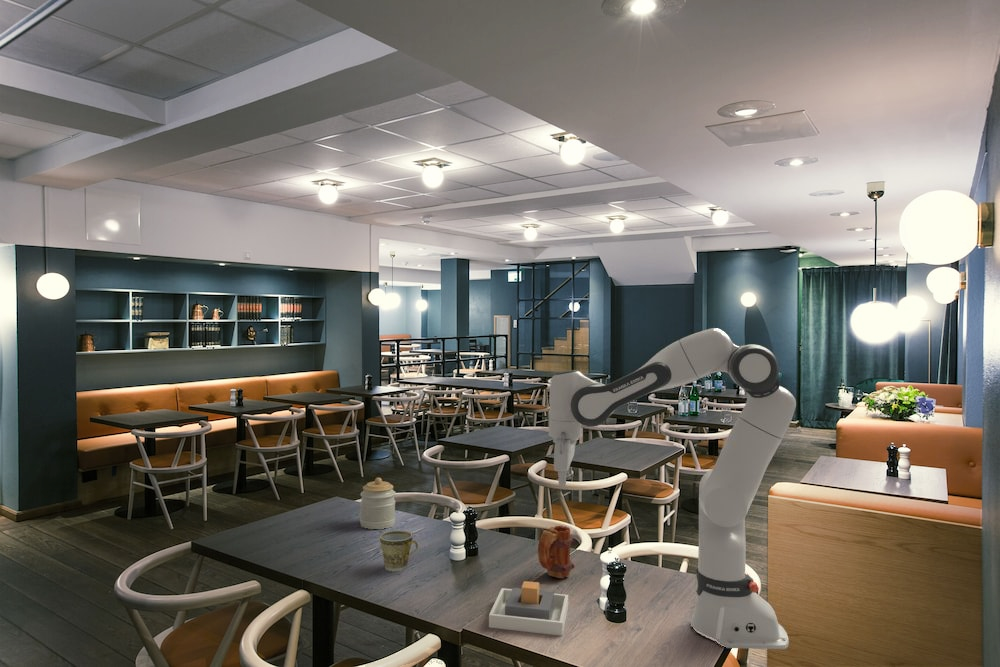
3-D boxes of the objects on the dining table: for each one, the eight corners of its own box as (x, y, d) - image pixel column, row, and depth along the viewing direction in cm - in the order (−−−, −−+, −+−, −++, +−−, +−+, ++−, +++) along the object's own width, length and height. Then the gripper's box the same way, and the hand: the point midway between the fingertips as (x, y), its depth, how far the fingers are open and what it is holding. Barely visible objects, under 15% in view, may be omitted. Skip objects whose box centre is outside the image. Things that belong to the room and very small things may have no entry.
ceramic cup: (372, 570, 188) (372, 537, 188) (392, 559, 197) (393, 528, 197) (407, 578, 182) (407, 544, 182) (426, 567, 191) (427, 535, 191)
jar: (384, 517, 240) (385, 472, 240) (401, 525, 230) (402, 478, 230) (353, 523, 232) (354, 476, 232) (370, 532, 222) (370, 483, 222)
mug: (556, 567, 192) (557, 519, 192) (578, 574, 187) (579, 525, 187) (528, 581, 181) (529, 530, 181) (551, 589, 176) (552, 537, 176)
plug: (538, 613, 159) (539, 582, 159) (536, 620, 155) (537, 589, 155) (523, 611, 160) (524, 581, 159) (521, 619, 156) (521, 587, 156)
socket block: (554, 608, 162) (554, 591, 161) (549, 628, 151) (549, 610, 151) (512, 604, 164) (512, 587, 164) (504, 623, 153) (505, 605, 153)
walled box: (568, 609, 163) (568, 594, 163) (562, 639, 148) (562, 623, 148) (501, 602, 167) (501, 588, 167) (488, 631, 151) (489, 614, 151)
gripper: (573, 437, 156) (572, 491, 157) (579, 425, 176) (578, 473, 177) (548, 435, 158) (547, 489, 158) (557, 423, 178) (556, 471, 178)
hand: (564, 480), depth 167 cm, fingers open, 8 cm apart
